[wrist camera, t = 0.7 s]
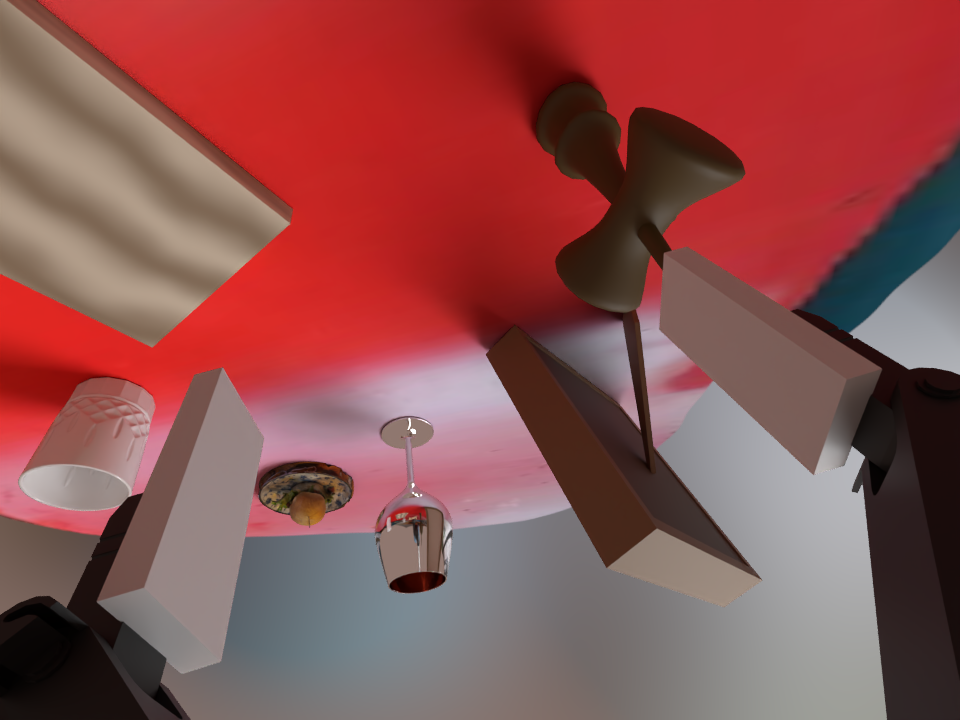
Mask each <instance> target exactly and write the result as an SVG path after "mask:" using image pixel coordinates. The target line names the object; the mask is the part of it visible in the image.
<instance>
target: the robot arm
mask: <svg viewBox="0 0 960 720" xmlns="http://www.w3.org/2000/svg"><path fill="white" fill-rule="evenodd" d="M659 330H660V331H661V332H663V333H664V334H665V335H666V336H667V337H668V338H669V339H670V340H671V341H672V342H673V343H674V344H675V345H676V346H677V347H678V348H679V349H681V350H682V351H683V352H684V353H685V354H686V355H687V356H688V357H689V358H690V359H691V360H692V361H693V362H694V363H695V364H696V365H697V366H699V367H700V368H701V369H702V370H703V371H704V372H705V373H706V374H707V375H708V376H709V377H710V378H711V379H712V380H713V381H714V382H716V383H717V384H718V385H719V386H720V387H721V388H722V389H723V390H724V391H725V392H726V393H727V394H728V395H729V396H730V397H731V398H733V399H734V400H735V401H736V402H737V403H738V404H739V405H740V406H741V407H742V408H743V409H744V410H745V411H746V412H747V413H748V414H749V415H750V416H752V417H753V418H754V419H755V420H756V421H757V422H758V423H759V424H760V425H761V426H762V427H763V428H764V429H765V430H766V431H767V432H769V433H770V434H771V435H772V436H773V437H774V438H775V439H776V440H777V441H778V442H779V443H780V444H781V445H782V446H783V447H784V448H785V449H787V450H788V451H789V452H790V453H791V454H792V455H793V456H794V457H795V458H796V459H797V460H798V461H799V462H800V463H801V464H803V466H805V467H806V468H807V469H808V470H809V471H810V472H811V473H812V474H813V475H816V474H819V473H822V472H825V471H828V470H832V469H835V468H838V467H841V466H844V465H845V462H846V460H847V457H848V455H849V452H850V450H851V447H852V446H853V447H854V448H855V449H857V450H858V451H859V452H860V453H862V454H863V455H864V456H865V459H864V461H863V463H862V466H861V468H860V470H859V473H858V475H857V477H856V480H855V482H854V485H853V489H852V492H856V493H858V491H859V489H860V486H861V485H863V490H864V499H865V509H866V518H867V529H868V538H869V547H870V558H871V568H872V577H873V587H874V597H875V606H876V616H877V625H878V635H879V644H880V655H881V665H882V674H883V684H884V694H885V703H886V713H887V720H960V375H958V374H956V373H953V372H951V371H946V370H941V369H936V368H915V369H910V370H909V369H907V368H905V367H904V366H902V365H900V364H899V363H897V362H895V361H894V360H892V359H890V358H889V357H887V356H885V355H883V354H882V353H880V352H879V351H877V350H875V349H874V348H872V347H870V346H869V345H867V344H865V343H864V342H862V341H860V340H859V339H857V338H856V339H853V336H852V335H850V334H849V333H847V332H845V331H844V330H842V329H841V330H839V329H838V327H837V326H835V325H834V324H832V323H830V322H829V321H827V320H825V319H824V318H822V317H820V316H817V315H814V314H811V313H808V312H805V311H802V310H799V309H796V310H792V311H789V310H788V309H786V308H784V307H783V306H781V305H780V304H778V303H776V302H775V301H773V300H772V299H770V298H768V297H767V296H765V295H764V294H762V293H760V292H759V291H757V290H756V289H754V288H752V287H751V286H749V285H748V284H746V283H745V282H743V281H741V280H740V279H738V278H737V277H735V276H733V275H732V274H730V273H729V272H727V271H725V270H724V269H722V268H721V267H719V266H717V265H716V264H714V263H713V262H711V261H709V260H708V259H706V258H705V257H703V256H701V255H700V254H698V253H697V252H695V251H693V250H692V249H690V248H689V247H684V248H681V249H677V250H673V251H669V252H665V253H664V260H663V277H662V294H661V311H660V328H659ZM263 442H264V437H263V435H262V434H261V432H260V430H259V429H258V427H257V425H256V423H255V422H254V420H253V418H252V417H251V415H250V413H249V411H248V410H247V408H246V406H245V405H244V403H243V401H242V400H241V398H240V396H239V394H238V393H237V391H236V389H235V388H234V386H233V384H232V382H231V381H230V379H229V377H228V376H227V374H226V372H225V370H224V369H223V367H222V368H219V369H215V370H211V371H207V372H203V373H199V374H195V375H194V377H193V379H192V382H191V384H190V386H189V389H188V391H187V393H186V396H185V398H184V400H183V403H182V405H181V407H180V410H179V412H178V414H177V416H176V419H175V421H174V423H173V426H172V428H171V430H170V433H169V435H168V437H167V440H166V442H165V444H164V447H163V449H162V451H161V454H160V456H159V458H158V460H157V463H156V465H155V467H154V470H153V472H152V474H151V477H150V479H149V481H148V484H147V486H146V488H145V491H144V493H141V494H137V495H134V496H130V497H128V498H127V499H126V500H125V501H124V502H123V503H122V504H121V506H120V507H119V508H118V509H117V510H116V511H115V513H114V514H113V515H112V516H111V517H110V518H109V520H108V523H107V525H106V527H105V529H104V531H103V533H102V535H101V537H100V543H97V546H96V548H95V550H94V552H93V554H92V556H91V557H92V560H91V561H89V562H88V564H87V566H86V569H85V571H84V573H83V575H82V577H81V579H80V581H79V583H78V585H77V588H76V589H75V592H74V594H73V596H72V598H71V600H70V602H69V604H68V606H67V608H65V607H64V606H63V605H62V604H60V603H59V602H58V601H56V600H55V599H53V598H52V597H50V596H38V597H34V598H31V599H29V600H26V601H23V602H20V603H18V604H17V605H15V606H13V607H12V608H10V609H9V610H7V611H5V612H4V613H2V614H1V615H0V720H190V718H189V717H188V716H187V714H186V713H185V711H184V710H183V708H182V707H181V706H180V704H179V703H178V701H177V700H176V699H175V697H174V696H173V694H172V693H171V692H170V690H169V689H168V688H167V687H166V686H165V685H163V684H162V683H161V682H160V681H161V677H162V674H163V670H164V667H165V663H166V661H167V662H168V663H169V664H171V665H172V666H173V667H174V668H175V669H177V670H178V671H179V672H180V673H181V674H183V673H186V672H189V671H193V670H196V669H199V668H202V667H205V666H209V665H212V664H215V663H218V662H221V658H222V653H223V648H224V643H225V638H226V633H227V628H228V622H229V616H230V612H231V607H232V602H233V597H234V592H235V586H236V581H237V575H238V571H239V565H240V560H241V555H242V550H243V545H244V540H245V535H246V529H247V524H248V519H249V514H250V509H251V504H252V498H253V493H254V488H255V483H256V478H257V473H258V467H259V462H260V457H261V452H262V447H263Z"/></svg>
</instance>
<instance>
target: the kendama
mask: <svg viewBox="0 0 960 720" xmlns="http://www.w3.org/2000/svg"><path fill="white" fill-rule="evenodd" d="M536 134H537V141H538V142H539V143H540V145H541V146H542V148H543V149H544V151H546V152H548V153H550V154H551V155H553V156H555V164H556V165H557V167H558V168H559V170H560V171H561V173H563V174H564V175H566V176H568V177H570V178H572V179H582V180H584V179H587V180H588V181H589V182H590V183H591V184H592V185H593V186H594V187H595V188H597V189H598V190H599V191H600V192H601V193H602V194H603V195H604V196H605V198H606V199H607V200H608V201H609V202H610V203H611V206H610V208H609V209H608V211H607V213H606V214H605V216H604V217H603V219H602V220H601V221H600V222H599V223H598V224H597V225H596V226H595V227H594V228H593V229H591V230H590V231H589V232H587V233H586V234H584V235H583V236H581V237H579V238H578V239H576V240H574V241H573V242H571V243H569V244H568V245H566V246H565V247H564V248H563V249H562V250H561V251H560V252H559V254H558V256H557V257H556V261H555V263H556V269H557V273H558V274H559V276H560V278H561V279H562V281H563V282H564V284H565V285H566V286H567V287H568V288H569V289H570V290H571V291H572V292H573V293H574V294H575V295H576V296H577V297H578V298H580V299H582V300H584V301H585V302H587V303H589V304H591V305H593V306H595V307H598V308H601V309H604V310H607V311H612V312H624V313H627V312H629V311H632V310H635V309H637V308H638V307H639V306H640V303H641V300H642V295H643V291H644V286H645V279H646V273H647V267H648V263H649V258H650V256H651V255H652V257H653V258H654V259H655V261H656V262H657V264H658V265H659V266H660V268H661V269H662V270H663V260H664V253H665V252H669V251H672V250H671V248H670V247H669V245H668V244H667V242H666V241H665V239H664V238H663V236H662V235H663V233H664V232H665V231H666V229H667V228H668V226H669V225H670V224H671V223H672V222H673V221H674V220H675V219H676V217H677V215H678V214H679V213H680V212H681V211H683V210H684V209H685V208H687V207H688V206H690V205H692V204H693V203H695V202H697V201H699V200H701V199H703V198H705V197H708V196H710V195H712V194H714V193H716V192H718V191H721V190H723V189H725V188H727V187H729V186H731V185H733V184H735V183H736V182H738V181H740V180H741V179H742V178H743V176H744V175H745V170H744V166H743V164H742V161H741V160H740V159H739V158H738V157H737V156H736V154H735V153H734V152H733V151H732V150H730V149H729V148H728V147H727V146H726V145H724V144H723V143H722V142H720V141H719V140H718V139H716V138H715V137H713V136H712V135H710V134H708V133H707V132H705V131H703V130H702V129H700V128H698V127H697V126H695V125H693V124H691V123H689V122H687V121H685V120H683V119H681V118H679V117H677V116H675V115H672V114H669V113H665V112H662V111H659V110H656V109H653V108H646V107H640V108H636V109H635V110H634V112H633V113H632V115H631V116H630V119H629V125H628V144H627V164H626V172H625V170H624V167H623V165H622V162H621V160H620V157H619V154H618V151H617V149H618V146H619V144H620V137H621V128H620V126H619V124H618V122H617V120H616V118H615V117H613V116H612V115H610V114H609V113H608V112H607V104H606V102H605V100H604V98H603V96H602V94H601V93H600V92H599V91H597V90H596V89H595V88H593V87H592V86H590V85H589V84H584V83H578V82H572V83H568V84H564V85H561V86H559V87H558V88H557V89H556V90H555V91H554V92H552V93H551V94H550V95H549V96H548V98H547V99H546V101H545V102H544V104H543V106H542V107H541V109H540V111H539V115H538V119H537V122H536Z"/></svg>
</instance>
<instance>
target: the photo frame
mask: <svg viewBox="0 0 960 720" xmlns="http://www.w3.org/2000/svg"><path fill="white" fill-rule="evenodd" d="M623 327H624V333H625V339H626V344H627V350H628V356H629V362H630V368H631V374H632V380H633V386H634V392H635V398H636V404H637V410H638V416H639V422H640V428H641V430H640V429H639V428H638V427H637V425H636V424H635V423H634V422H633V420H632V419H631V418H630V417H629V415H628V414H627V413H626V412H625V411H624V409H623V408H622V407H621V406H620V404H618V403H617V402H616V401H614V400H613V399H612V398H610V397H609V396H608V395H606V394H605V393H604V392H602V391H601V390H600V389H598V388H597V387H596V386H595V385H593V384H592V383H591V382H589V381H588V380H587V379H585V378H584V377H583V376H581V375H580V374H579V373H577V372H576V371H575V370H573V369H572V368H571V367H570V366H568V365H567V364H566V363H564V362H563V361H562V360H560V359H559V358H558V357H556V356H555V355H554V354H552V353H551V352H550V351H549V350H547V349H546V348H545V347H543V346H542V345H541V344H539V343H538V342H537V341H535V340H534V339H533V338H531V337H530V336H529V335H527V334H526V333H525V332H524V331H522V330H521V329H520V328H518V327H517V326H516V325H514V326H513V327H512V328H511V329H510V330H509V331H508V332H507V333H506V334H505V335H504V337H503V338H502V339H501V340H500V341H499V342H498V343H497V344H496V345H495V346H494V347H493V348H492V349H491V350H490V351H489V352H488V353H487V354H486V356H487V358H488V359H489V361H490V363H491V365H492V367H493V368H494V370H495V372H496V374H497V375H498V377H499V379H500V381H501V382H502V384H503V386H504V388H505V389H506V391H507V393H508V395H509V397H510V398H511V400H512V402H513V404H514V405H515V407H516V409H517V411H518V412H519V414H520V416H521V418H522V420H523V421H524V423H525V425H526V427H527V428H528V430H529V432H530V434H531V435H532V437H533V439H534V441H535V442H536V444H537V446H538V448H539V450H540V451H541V453H542V455H543V457H544V458H545V460H546V462H547V464H548V465H549V467H550V469H551V471H552V472H553V474H554V476H555V478H556V480H557V481H558V483H559V485H560V487H561V488H562V490H563V492H564V494H565V495H566V497H567V499H568V501H569V502H570V504H571V506H572V508H573V510H574V511H575V513H576V514H577V517H578V518H579V520H580V522H581V524H582V525H583V527H584V529H585V531H586V532H587V534H588V536H589V538H590V539H591V541H592V543H593V545H594V546H595V548H596V550H597V552H598V554H599V555H600V557H601V559H602V561H603V562H604V564H605V566H606V568H608V569H611V570H614V571H617V572H620V573H623V574H626V575H629V576H632V577H635V578H638V579H641V580H644V581H647V582H650V583H653V584H656V585H659V586H662V587H665V588H668V589H671V590H674V591H677V592H680V593H683V594H686V595H689V596H692V597H695V598H698V599H701V600H704V601H707V602H710V603H713V604H716V605H719V606H722V607H725V606H727V605H728V604H730V603H731V602H732V601H733V600H735V599H737V598H738V597H739V596H741V595H742V594H744V593H745V592H747V591H748V590H749V589H751V588H752V587H754V586H755V585H756V584H758V583H759V582H761V581H762V579H761V578H760V577H759V576H758V574H757V573H756V572H755V571H754V569H753V568H752V567H751V566H750V564H749V563H748V562H747V561H746V560H745V558H744V557H743V556H742V555H741V553H740V552H739V551H738V550H737V548H736V547H735V546H734V545H733V544H732V542H731V541H730V540H729V539H728V537H727V536H726V535H725V534H724V532H723V531H722V530H721V529H720V527H719V526H718V525H717V524H716V523H715V521H714V520H713V519H712V518H711V516H710V515H709V514H708V513H707V512H706V510H705V509H704V508H703V507H702V506H701V504H700V503H699V502H698V500H697V499H696V498H695V497H694V495H693V494H692V493H691V492H690V491H689V489H688V488H687V487H686V486H685V484H684V483H683V482H682V481H681V479H680V478H679V477H678V476H677V475H676V473H675V472H674V471H673V470H672V468H671V467H670V466H669V465H668V464H667V462H666V461H665V460H664V459H663V457H662V456H661V455H660V454H659V452H658V451H657V450H656V449H655V447H654V446H653V440H652V431H651V422H650V413H649V404H648V395H647V386H646V377H645V368H644V359H643V350H642V341H641V332H640V323H639V319H638V316H637V313H636V309H635V310H632V311H629V312H627V313H623Z"/></svg>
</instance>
